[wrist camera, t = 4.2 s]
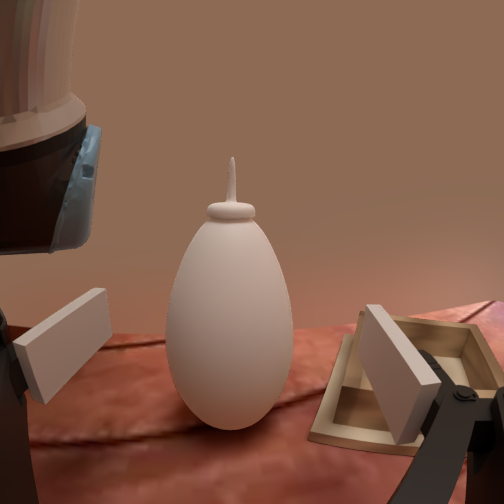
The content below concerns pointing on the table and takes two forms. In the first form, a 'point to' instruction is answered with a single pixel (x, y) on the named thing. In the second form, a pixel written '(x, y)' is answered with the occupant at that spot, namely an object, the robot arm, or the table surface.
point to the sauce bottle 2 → (229, 319)
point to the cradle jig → (362, 395)
